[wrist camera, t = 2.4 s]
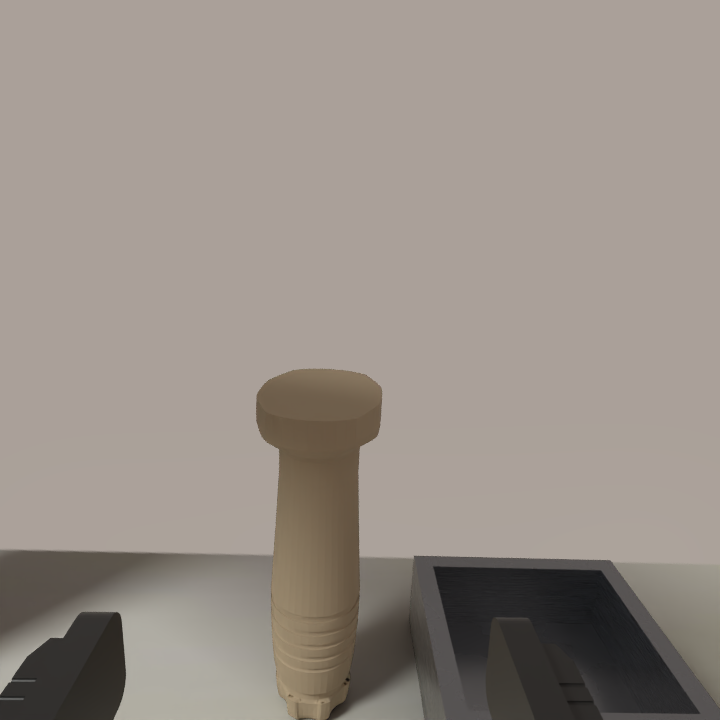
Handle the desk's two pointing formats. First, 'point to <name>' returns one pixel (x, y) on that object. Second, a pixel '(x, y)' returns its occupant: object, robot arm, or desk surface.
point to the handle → (316, 528)
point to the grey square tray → (546, 636)
